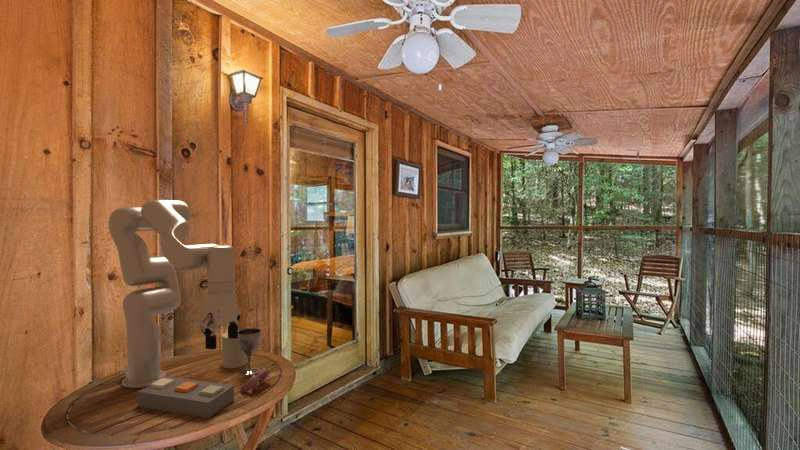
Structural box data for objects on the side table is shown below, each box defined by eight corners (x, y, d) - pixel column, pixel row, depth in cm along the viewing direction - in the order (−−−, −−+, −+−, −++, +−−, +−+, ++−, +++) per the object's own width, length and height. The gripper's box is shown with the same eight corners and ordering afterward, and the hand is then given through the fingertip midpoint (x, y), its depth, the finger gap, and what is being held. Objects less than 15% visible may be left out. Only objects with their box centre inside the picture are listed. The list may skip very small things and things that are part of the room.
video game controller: (249, 399, 124) (258, 380, 123) (238, 391, 124) (246, 373, 123) (266, 385, 133) (274, 368, 132) (255, 378, 134) (263, 361, 133)
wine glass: (237, 377, 135) (237, 335, 135) (237, 369, 143) (237, 329, 142) (261, 374, 139) (261, 333, 138) (260, 366, 146) (260, 326, 145)
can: (242, 368, 143) (242, 336, 143) (217, 368, 143) (217, 336, 143) (251, 359, 153) (251, 329, 152) (227, 359, 152) (227, 329, 152)
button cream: (150, 393, 118) (150, 384, 118) (162, 387, 122) (162, 378, 122) (162, 395, 117) (162, 385, 117) (174, 389, 121) (174, 379, 121)
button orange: (174, 397, 116) (174, 387, 116) (186, 390, 120) (186, 381, 120) (187, 399, 115) (187, 389, 114) (198, 392, 119) (198, 383, 119)
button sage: (200, 401, 113) (200, 391, 113) (210, 394, 118) (210, 384, 118) (212, 403, 112) (212, 393, 112) (223, 396, 117) (223, 386, 117)
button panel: (137, 406, 115) (137, 391, 115) (168, 389, 126) (168, 376, 126) (208, 418, 109) (208, 402, 109) (234, 399, 120) (234, 385, 119)
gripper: (229, 281, 124) (230, 333, 125) (188, 291, 107) (190, 352, 108) (250, 282, 123) (250, 335, 123) (212, 293, 106) (213, 354, 106)
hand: (222, 343), depth 116 cm, fingers open, 9 cm apart
